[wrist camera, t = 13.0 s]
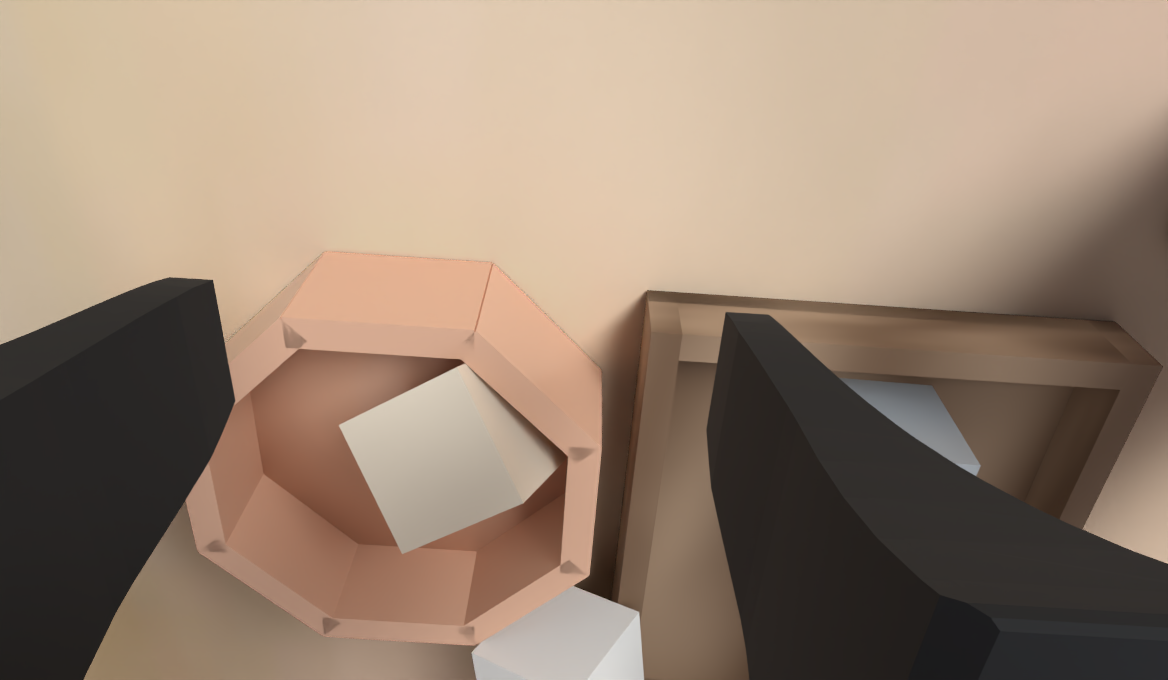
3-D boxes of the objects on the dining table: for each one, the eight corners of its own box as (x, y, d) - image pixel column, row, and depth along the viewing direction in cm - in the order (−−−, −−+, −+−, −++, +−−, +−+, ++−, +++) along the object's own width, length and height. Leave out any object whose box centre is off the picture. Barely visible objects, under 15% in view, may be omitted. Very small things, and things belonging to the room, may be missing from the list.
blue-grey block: (932, 385, 23) (980, 465, 20) (895, 487, 25) (935, 574, 22) (807, 375, 23) (838, 454, 20) (780, 478, 24) (805, 564, 22)
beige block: (567, 458, 22) (511, 343, 22) (523, 503, 19) (456, 366, 19) (461, 503, 23) (408, 393, 23) (402, 554, 20) (338, 424, 20)
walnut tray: (1115, 321, 22) (1163, 366, 20) (948, 695, 30) (971, 752, 28) (647, 290, 22) (651, 332, 20) (601, 675, 30) (602, 731, 28)
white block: (570, 700, 22) (581, 787, 23) (639, 611, 25) (645, 695, 26) (471, 652, 24) (487, 736, 25) (544, 575, 26) (555, 655, 28)
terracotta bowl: (611, 270, 22) (612, 339, 19) (584, 562, 27) (581, 652, 24) (205, 243, 22) (140, 308, 19) (258, 542, 27) (215, 630, 24)
